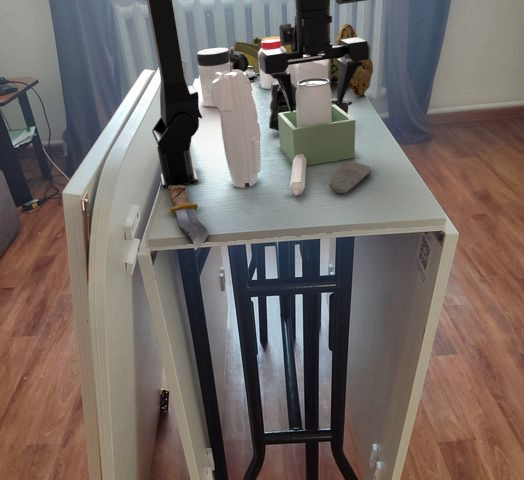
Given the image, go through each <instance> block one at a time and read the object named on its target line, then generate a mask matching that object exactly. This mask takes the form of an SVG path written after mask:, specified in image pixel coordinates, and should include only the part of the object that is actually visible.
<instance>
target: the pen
mask: <svg viewBox="0 0 524 480" xmlns="http://www.w3.org/2000/svg"><path fill="white" fill-rule="evenodd" d="M248 78H249V80H250V82H253V81H254V80H257V79H258V78H259V76H258V75H252V76H249V77H248Z"/></svg>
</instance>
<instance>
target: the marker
mask: <svg viewBox="0 0 524 480" xmlns="http://www.w3.org/2000/svg"><path fill="white" fill-rule="evenodd" d="M306 169H307V166H306V158H305V157H304V155H303V154H299V155H296V156H295V158H294V160H293V165H292V166H291V173H290V183H289V191H291V193H292V195H293V196H295V197H297V196H298V195H302V193H303V192H304V190H305V186H306Z"/></svg>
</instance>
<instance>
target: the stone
mask: <svg viewBox="0 0 524 480" xmlns="http://www.w3.org/2000/svg"><path fill="white" fill-rule="evenodd" d="M371 172H372V167H370V166H368V165H365V164H361V163H358V162H354V161H349V160H345V161H344V162H343V164H341V166H340V167H339V168H338V169H337V170H336V172H335V173H334V174H333V175H332V177H331V178H330V180H329V182H328V186H329V188H330V189H331V190H332V191H334V192H335V193H338V194H345V193H348V192H349V191H351V190H352V189H353V188H354V187H356V186H357V185H358V184H359V183H360V182H361V181H362V180H363V179H365V177H367V176H368V175H369V174H370V173H371Z"/></svg>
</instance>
